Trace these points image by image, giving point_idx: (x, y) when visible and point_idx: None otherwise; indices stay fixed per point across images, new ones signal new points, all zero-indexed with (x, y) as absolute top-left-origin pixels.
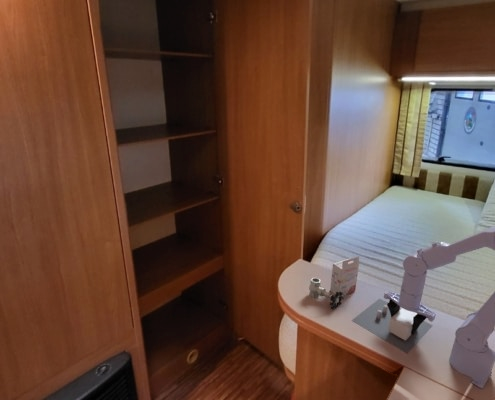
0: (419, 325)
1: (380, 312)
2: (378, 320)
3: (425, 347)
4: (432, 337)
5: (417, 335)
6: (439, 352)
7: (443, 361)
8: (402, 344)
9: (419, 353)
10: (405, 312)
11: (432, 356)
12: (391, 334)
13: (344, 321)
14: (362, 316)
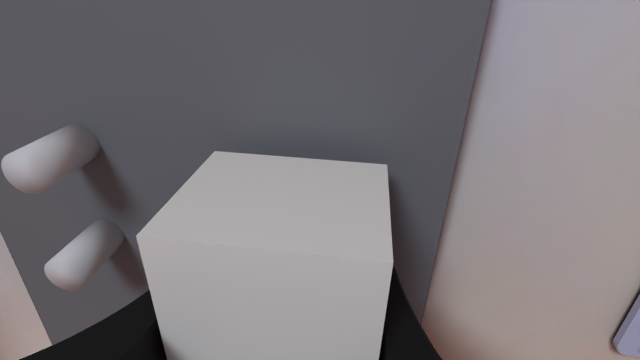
0: (416, 325)
1: (77, 283)
2: (129, 258)
3: (482, 259)
4: (514, 114)
5: (406, 227)
6: (585, 244)
7: (614, 302)
8: None
9: (459, 325)
10: (223, 332)
11: (539, 304)
12: None
13: (44, 341)
14: (50, 287)
